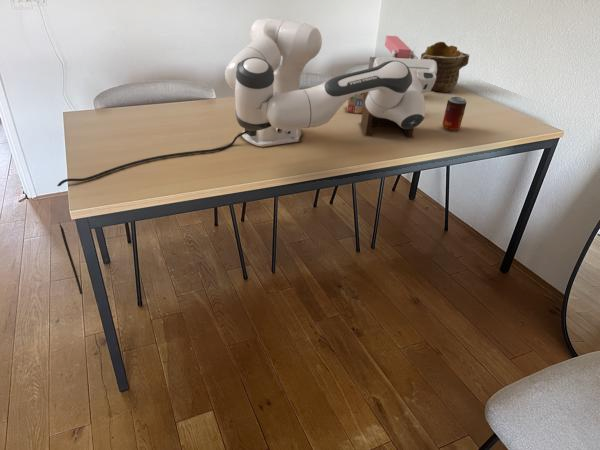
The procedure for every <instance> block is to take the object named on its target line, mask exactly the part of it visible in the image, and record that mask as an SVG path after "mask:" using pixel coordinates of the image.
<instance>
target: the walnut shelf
mask: <svg viewBox="0 0 600 450" xmlns="http://www.w3.org/2000/svg"><path fill="white" fill-rule="evenodd" d="M377 57H378V56H377ZM377 57H375V56H369V61H368V68H367V69H370V68H373V64H374V60H375V59H376V58H377ZM368 93H369V92H365V98H364V105H363V113H361V122H360V125H361V128H362V130H363V133H364V135H365V136H366V137H369V136H371V130H372V126H382V127H383V126H384V127H400V126H399V125H398V124H397V123H396V122H394V121H392V120H389V119H383V118H376V117H374V116H372V115H371V114H370V113H369V112H368V111H367V109H366V106H365V100H366V97H367V95H368ZM402 129H403V132H405V135H406V136H407V137H408V138H413V134H414V130H415V127H414V128H411V129H404V128H402Z"/></svg>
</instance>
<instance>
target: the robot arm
mask: <svg viewBox="0 0 600 450" xmlns="http://www.w3.org/2000/svg"><path fill="white" fill-rule="evenodd" d="M249 35H250V36H249V39H250V43H249V44H247V45H246V46H245V47H244V48H243V49H241V50H240V51H239V52H238V53H237V54H235V55H234V56H233V57H232V59H231V60H230V61H229V62H228V64H227V66H226V67H225V71H224V77H225V81H226V83H227V85H228V86H229V87H230V89H232V90H233V91H234V101H235V103H234V104H235V112H234V113H235V117H236V121H237V123H238V125H239V126H240V127H241V128H243V129H244V130H242V132H240V133H239V134H237V135H236V136H235V137H234V138H233V140H232V141H231V142H230V143H228V144H227V145H225V146H221V147H216V148H211V149H201V150H191V151H182V152H175V153H170V154H169V153H168V154H161V155H157V156H152V157H148V158H142V159H139V160H135V161H132V162H131V161H130V162H127V163H125V164H122V165H118V166H116V167H113V168H109V169H106V170H104V171H102V172H99V173H97V174H94V175H91V176H88V177H82V178H81V177H80V178H65V179H63V180H61V181H59V182H58V184H57V185H56V186H57V187H61V186H62V185H64V184H65V183H67V182H85V181H89V180H93V179H95V178H99V177H100V176H103V175H106V174H108V173H111V172H115V171H117V170H120V169H123V168H126V167H129V166H132V165H137V164H141V163H144V162H148V161H152V160H157V159H164V158H169V157H176V156H177V157H178V156H183V155H191V154H202V153H211V152H215V151H216V152H217V151H221V150H224V149H228V148H230V147H231V146H233V145H234V144H235V143H236V141H237V140H238V138H240V137H242V138H243V139H244V140H245V141H246V142H248V143H250V144H251V145H253V146H257V147H261V148H262V147H263V148H264V147H270V146H277V145H284V144H290V143H298V142H300V137H301V136H302V130H303V129H312V128H313V129H314V128H317V127H321V126H323V125H325V124H327V123H329V122H330V121H331V120H332V119H333V118H334V116H335V115H336V113H337V112H338V111H339V110H340V108H341V107H342V106H343V105H344V104H345V103H347V102H348V99H349V98H351V97H352V96H354V95H357V94H361V93H365V92H369V93H368V95H367V97H366V100H365V106H366V109H367V111H368V112H369V113H370V114H371V115H372V116H374V117H376V118H383V119H389V120H392V121H394V122H396V123H397V124H398V125H399V126H398V127H400V128H402V129H403V128H404V129H411V128H414V129H415V128H417V127H418V126H420V124H421V123H423V121H425V118H426V101H425V96H424V94H426V93H430V92H431V91H432V90H431V89H432V87H433V85H434V83H435V80H436V73H437V63H436V62H435V61H434V60H426V59H421V58H419V57H418V55H416V54H415V53H414V50H411V53H410V59H405V58H395V57H397V54H398V52H397V50H393V51H392V54H391V55H390V57H382V56H377V58H376V59H375V60H374V64H373V68H370V69H368V68H366V69H362V70H357V71H353V72H349V73H345V74H341V75H338V76H334V77H332V78H330V79H328V80H327V81H325V82H323V83H321V84H318V85H314V86H312V87H307V88H301V89H300V86H301V79H302V74H303V72H304V69H305V67H306V66H307V64H308V63H309V62H310V61H312V60H313V59H314V58H316V57H317V55H319V53H320V51H321V49H322V44H323V37H322V34H321V31H320V30H319V29H318V27H315V26H313V25H310V24H308V23H306V22H299V21H293V20H285V19H279V18H273V17H266V18H257V19H256V20H255V21H254V22H253V24H252V25H251V28H250V32H249ZM59 228H60V233H61V236H62V240H63V244H64V247H65V250H66V253H67V256H68V259H69V262H70V266H71V268H72V272H73V275H74V277H75V280H76V284H77V288H78V291H79V295H82V294H83V290H82V286H81V282H80V279H79V276H78V273H77V270H76V267H75V264H74V260H73V257H72V254H71V251H70V248H69V244H68V242H67V238H66V233H65V230H64V227H63V226H62V224H61V222H60V221H59Z"/></svg>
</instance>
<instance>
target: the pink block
mask: <svg viewBox="0 0 600 450" xmlns="http://www.w3.org/2000/svg"><path fill="white" fill-rule="evenodd" d="M384 47H385V48H386V49H387V50H388V51H389V53H390V54H391V55H392V51H393V50H397V52H398V54H397V57H395V58H405V59H411V58H410V53H411V51H412V49H411V48H410V47H409V46H408V45H407V44H406V43H405V42H404V41H403V40H402V39H401V38H400V37H399V36H397V35H386V36H385V41H384Z"/></svg>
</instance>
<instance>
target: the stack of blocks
mask: <svg viewBox="0 0 600 450" xmlns="http://www.w3.org/2000/svg"><path fill="white" fill-rule="evenodd" d="M364 98H365V93H361V94H357V95H354V96H352V97H351V98H349V99H348V100H347V105H346V106H347V107H346V112H347V113H355V114H362V113H363V105H364Z"/></svg>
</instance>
